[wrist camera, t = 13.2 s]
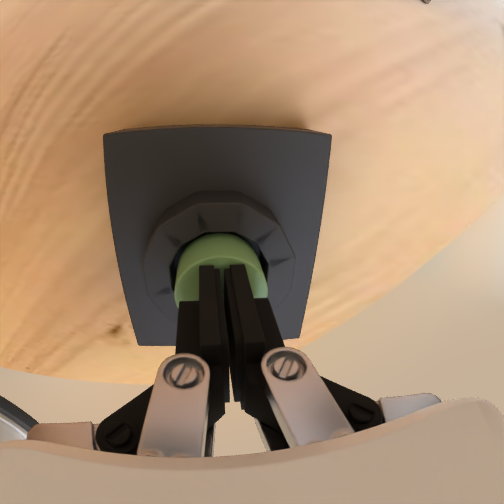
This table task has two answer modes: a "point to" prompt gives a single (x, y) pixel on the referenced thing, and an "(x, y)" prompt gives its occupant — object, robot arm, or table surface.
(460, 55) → the table surface
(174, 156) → the button base
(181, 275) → the green short cylinder
